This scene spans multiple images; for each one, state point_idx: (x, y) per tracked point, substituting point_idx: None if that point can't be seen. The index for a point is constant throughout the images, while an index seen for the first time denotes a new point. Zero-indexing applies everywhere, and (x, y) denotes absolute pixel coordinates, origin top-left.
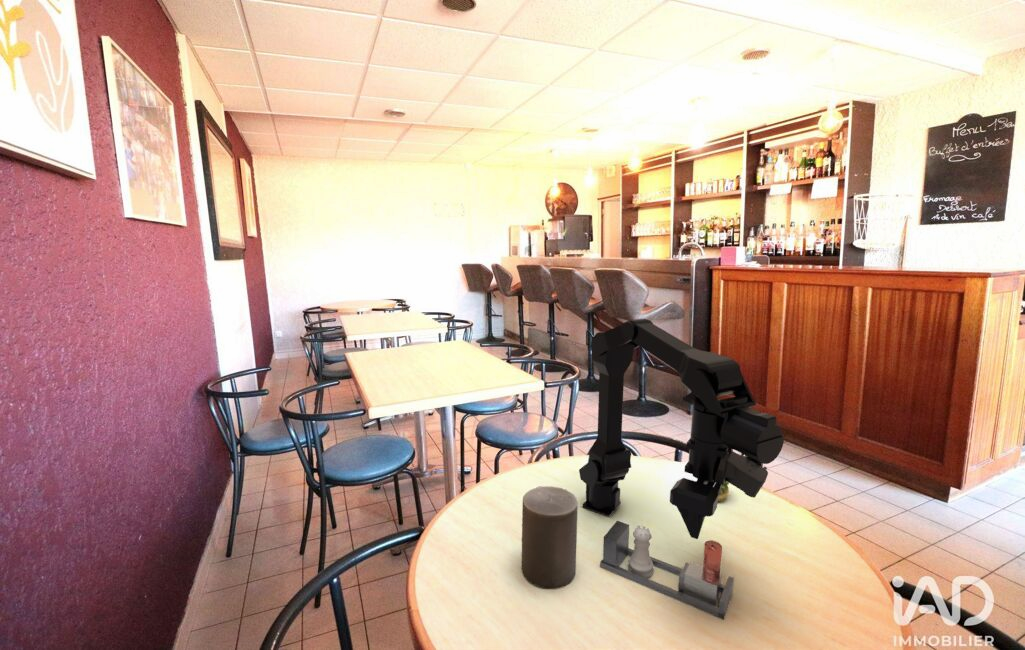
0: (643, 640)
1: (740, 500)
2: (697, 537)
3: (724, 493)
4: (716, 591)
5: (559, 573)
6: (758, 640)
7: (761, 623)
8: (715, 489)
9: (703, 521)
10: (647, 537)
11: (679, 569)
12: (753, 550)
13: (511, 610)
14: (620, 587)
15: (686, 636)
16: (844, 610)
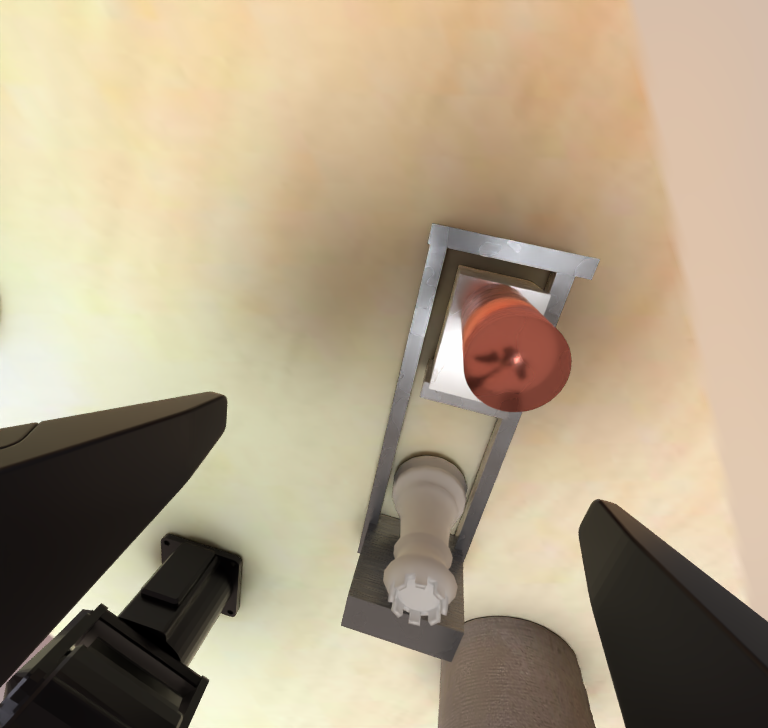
0: (718, 471)
1: None
2: (627, 516)
3: None
4: (545, 291)
5: (579, 691)
6: (650, 135)
7: (558, 121)
8: (38, 493)
9: (748, 643)
10: (440, 577)
11: (402, 392)
12: (168, 144)
13: None
14: (518, 525)
15: (679, 364)
16: None
